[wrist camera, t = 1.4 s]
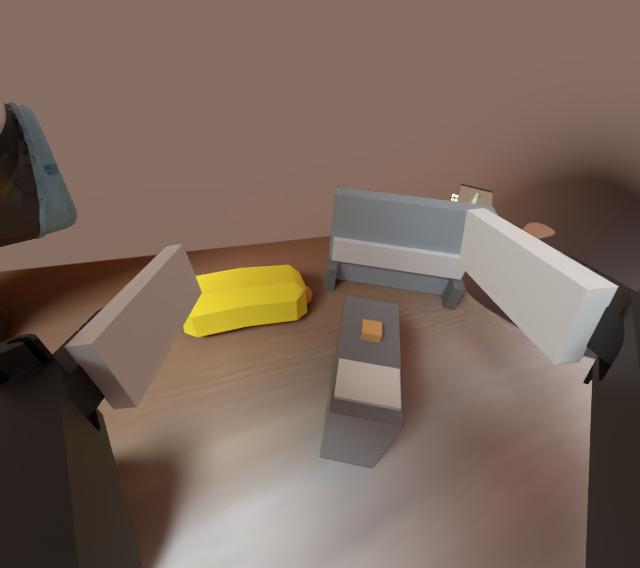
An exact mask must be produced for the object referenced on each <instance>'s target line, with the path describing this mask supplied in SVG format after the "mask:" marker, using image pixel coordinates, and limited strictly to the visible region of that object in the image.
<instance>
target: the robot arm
mask: <svg viewBox="0 0 640 568" xmlns="http://www.w3.org/2000/svg"><path fill="white" fill-rule="evenodd" d="M76 220H77V210H76V208H75V205H74V203H73V200H72V198H71V196H70V194H69V191H68V189H67V187H66V184H65V182H64V180H63V177H62V175H61V173H60V171H59V169H58V166H57V163H56V161H55V159H54V157H53V154H52V152H51V150H50V147H49V145H48V143H47V140H46V138H45V136H44V134H43V131H42V129H41V127H40V125H39V122H38V120H37V118H36V116H35V114H34V112H33V111H32V109H30V108H29V107H28V106H24V105H16V104H14V103H8V104H4V103H3V101H2V100H1V98H0V247H2V246H6V245H11V244H15V243H19V242H23V241H27V240H31V239H36V238H37V239H39V238H42V237H44V236H45V235H46V234H50V233H53V232H56V231H59V230H62V229H66V228H68V227H70V226H72V225H73V224H74V223H75V222H76ZM459 265H460V266H461V267H462V268H463V269H464V270H465V271H466V272H467V273H468V274H469V275H470V276H471V277H472V278H473V280H474V281H476V283H477V284H478V285H479V286H480V287H481V288H482V289H483V290H484V291H485V292H486V293H487V294H488V295H489V296H490V298H491V299H492V300H493V301H494V302H495V303H496V304H497V305H498V306H499V307H500V308H501V309H502V310H503V311H504V312H505V313H506V314H507V316H508V317H509V318H510V319H511V320H512V321H513V322H514V323H515V324H516V325H517V326H518V327H519V328H520V329H521V330H522V331H523V332H524V334H525V335H526V336H527V337H528V338H529V339H530V340H531V341H532V342H533V343H534V344H535V345H536V346H537V347H538V348H539V349H540V350H541V352H542V353H543V354H544V355H545V356H546V357H547V358H548V359H549V360H550V361H551V362H552V363H553V364H554V365H556V364H566V363H576V362H580V360H581V358H582V356H583V354H584V352H585V350H586V348H587V347H588V348H589V349H591V350H592V351H593V352H594V353H595V354H596V355H597V356H598V357H597V358H596V360H595V362H594V364H593V366H592V367H591V369H590V371H589V373H588V375H587V377H586V378H585V380H584V382H583V383H585V384H589V382H590V380H592V403H591V431H590V459H589V486H588V514H587V542H586V568H640V291H637V292H636V291H634V290H632V289H630V288H629V287H627V286H625V285H623V284H622V283H620V282H618V281H616V280H615V279H613V278H611V277H609V276H607V275H606V274H604V273H602V272H598V270H597V269H595V268H593V267H591V266H588V265H587V264H586V263H585V262H583V261H581V260H579V259H578V258H576V257H574V256H571V255H568V254H565V253H562V252H559V251H557V250H555V249H553V248H552V247H550V246H548V245H547V244H545V243H543V242H542V241H540V240H538V239H537V238H535V237H533V236H531V235H530V234H528V233H526V232H525V231H523V230H521V229H519V228H518V227H516V226H514V225H512V224H511V223H509V222H508V221H506V220H504V219H502V218H501V217H499V216H497V215H496V214H494V213H492V212H490V211H489V210H487V209H485V208H479V209H471V210H467V214H466V220H465V226H464V232H463V239H462V245H461V251H460V258H459ZM201 294H202V291H201V289H200V286H199V284H198V281H197V279H196V276H195V274H194V271H193V268H192V266H191V263H190V261H189V258H188V256H187V253H186V251H185V248H184V246H183V244H177V245H168V246H166V247H165V248H164V249H163V250H162V251H161V252H160V253H159V254H158V255H157V256H156V257H155V258H154V259H153V260H152V261H151V262H150V263H149V264H148V265H147V266H146V267H145V268H144V269H143V270H142V271H141V272H140V273H138V274H137V275H136V276H135V277H134V278H133V279H132V280H131V281H130V282H129V283H128V284H127V285H126V286H125V287H124V288H123V289H122V290H121V291H120V292H119V293H118V294H117V295H116V296H115V297H114V298H113V299H112V300H111V301H110V302H109V303H108V304H107V305H106V306H105V307H103V308H102V309H100V310H98V311H97V312H96V313H95V314H94V315H93V316H92V317H91V318H90V319H89V320H88V321H87V323H84V324H83V325H82V326H81V327H80V328H79V331H76V332H75V333H74V334H73V335H72V336H71V337H70V338H69V339H68V340H67V341H66V342H65V343H64V344H63V345H62V346H61V347H60V348H59V349H58V350H57V351H56V352H55V353H54V354H53V355H52V354H51V353H50V351H49V350H48V349H47V348H46V347H45V345H44V344H43V343H42V342H41V341H40V339H39V338H38V337H37V336H36V335H34V334H26V335H20V336H17V337H14V338H11V339H8V340H6V341H3V340H4V338H5V336H6V334H7V332H8V329H9V326H10V316H9V313H8V311H7V310H6V309H5V308H4V307H3V306H2V305H1V304H0V568H142V565H141V561H140V557H139V553H138V549H137V546H136V542H135V538H134V534H133V530H132V526H131V522H130V518H129V515H128V511H127V507H126V503H125V499H124V495H123V491H122V487H121V484H120V480H119V476H118V472H117V468H116V464H115V460H114V456H113V453H112V449H111V445H110V441H109V437H108V433H107V429H106V426H105V422H104V418H103V415H102V413H101V412H100V411H99V410H98V409H97V407H98V406H99V404H100V403H101V401H102V400H103V399H104V398H105V399H106V400H107V401H108V403H109V404H110V405H111V407H112V408H113V409H122V408H132V407H137V406H138V404H139V402H140V401H141V399H142V397H143V395H144V394H145V392H146V390H147V388H148V387H149V385H150V383H151V381H152V380H153V378H154V376H155V374H156V373H157V371H158V369H159V367H160V366H161V364H162V362H163V360H164V359H165V357H166V355H167V353H168V352H169V350H170V348H171V346H172V345H173V343H174V341H175V339H176V338H177V336H178V334H179V332H180V331H181V329H182V327H183V325H184V324H185V322H186V320H187V318H188V317H189V315H190V313H191V311H192V310H193V308H194V306H195V304H196V303H197V301H198V299H199V297H200V296H201ZM2 341H3V342H2Z"/></svg>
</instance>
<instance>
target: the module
mask: <svg viewBox="0 0 640 568" xmlns="http://www.w3.org/2000/svg"><path fill="white" fill-rule="evenodd" d="M402 427H403V408H402V382H401V355H400V329H399V304H396V303H389V302H383V301H377V300H371V299H365V298H358V297H352V296H346V295H345V300H344V306H343V312H342V317H341V323H340V329H339V334H338V340H337V345H336V351H335V357H334V364H333V370H332V377H331V384H330V391H329V397H328V404H327V411H326V418H325V425H324V431H323V438H322V445H321V452H320V458H324V459H329V460H334V461H339V462H344V463H349V464H354V465H359V466H363V467H368V468H373V467H374V465H375V464H376V463H377V461H378V460H379V459H380V457H381V456H382V455H383V453H384V452H385V451H386V449H387V448H388V446H389V445H390V444H391V442H392V441H393V440H394V438H395V437H396V436H397V434H398V433H399V432H400V430H401V429H402Z"/></svg>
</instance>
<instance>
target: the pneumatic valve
mask: <svg viewBox="0 0 640 568" xmlns="http://www.w3.org/2000/svg"><path fill="white" fill-rule="evenodd" d="M492 194H493V192H492V191H489V190H485V189H481V188H476V187H472V186H468V185H464V184H462V185H461V187H460V190H459V192H458V194H456V195H455V193H453V194H452V197H451V201H453V202H461V203H468V204H476V205H484V206H491V207H492Z"/></svg>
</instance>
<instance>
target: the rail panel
mask: <svg viewBox="0 0 640 568" xmlns="http://www.w3.org/2000/svg"><path fill="white" fill-rule="evenodd" d="M479 208H485V209H487V210H489V211H490V212H492V213H494V214H496V212H495V210H494V208H493V207H491V206H484V205H476V204H468V203H461V202H453V201H445V200H438V199H431V198H422V197H415V196H408V195H400V194H393V193H385V192H377V191H369V190H362V189H355V188H347V187H340V186H337V189H336V193H335V200H334V210H333V219H332V229H331V239H330V249H329V258H328V262H327V267H326V274H325V284H324V289H329V290H334V288H335V282H336V279H340V280H347V281H353V282H359V283H366V284H372V285H379V286H385V287H391V288H398V289H404V290H411V291H417V292H423V293H430V294H436V295H441V296H442V302H443V307H444V308H448V309H455V307H456V306H457V304H458V302H459V301H460V299H461V297H462V296H463V294H464V292H465V291H466V289H465V286H464V282H463V278H462V277H463V276H464V274H465V272H466V271H465V270H464V269H463V268H462V267H461V266H460V265H459V258H460V251H461V245H462V239H463V232H464V226H465V220H466V214H467V210H471V209H479ZM496 215H497V214H496Z"/></svg>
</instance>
